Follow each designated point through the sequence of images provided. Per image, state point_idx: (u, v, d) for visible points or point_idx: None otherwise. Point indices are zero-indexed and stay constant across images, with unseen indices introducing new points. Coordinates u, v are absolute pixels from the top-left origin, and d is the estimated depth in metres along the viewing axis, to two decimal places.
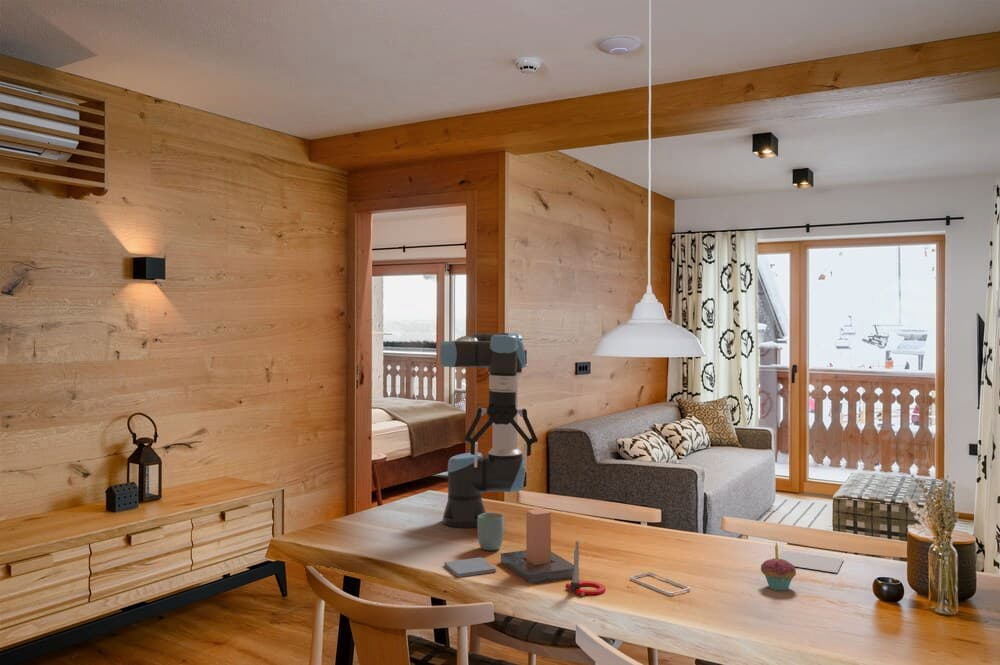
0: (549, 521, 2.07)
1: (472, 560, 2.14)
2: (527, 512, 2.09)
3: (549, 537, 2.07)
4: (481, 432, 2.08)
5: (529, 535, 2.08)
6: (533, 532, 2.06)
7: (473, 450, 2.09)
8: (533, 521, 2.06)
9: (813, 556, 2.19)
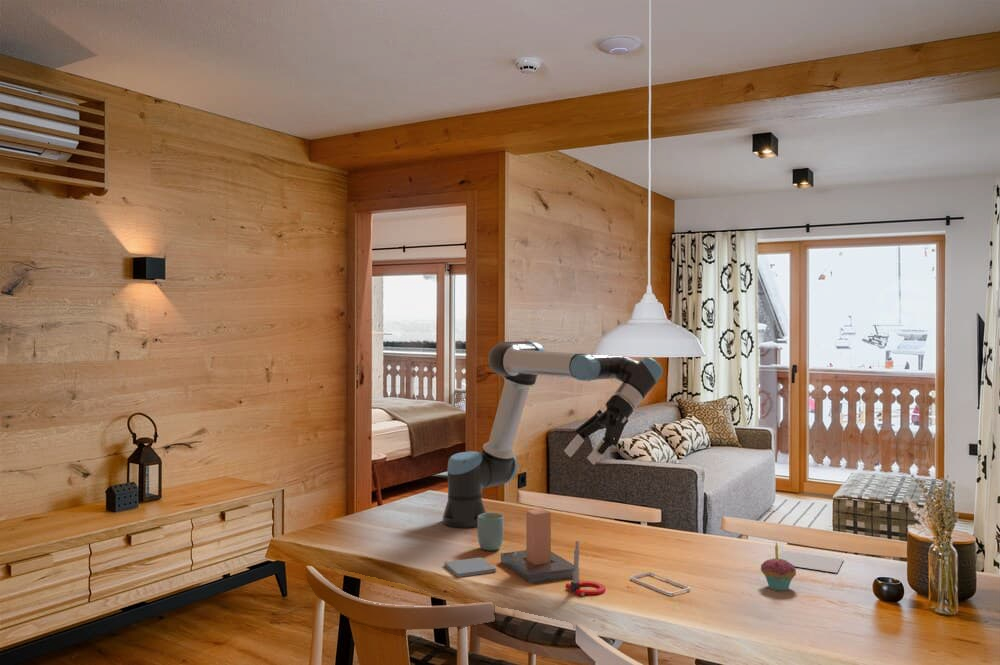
0: (549, 521, 2.07)
1: (472, 560, 2.14)
2: (527, 512, 2.09)
3: (549, 537, 2.07)
4: None
5: (529, 535, 2.08)
6: (533, 532, 2.06)
7: None
8: (533, 521, 2.06)
9: (813, 556, 2.19)
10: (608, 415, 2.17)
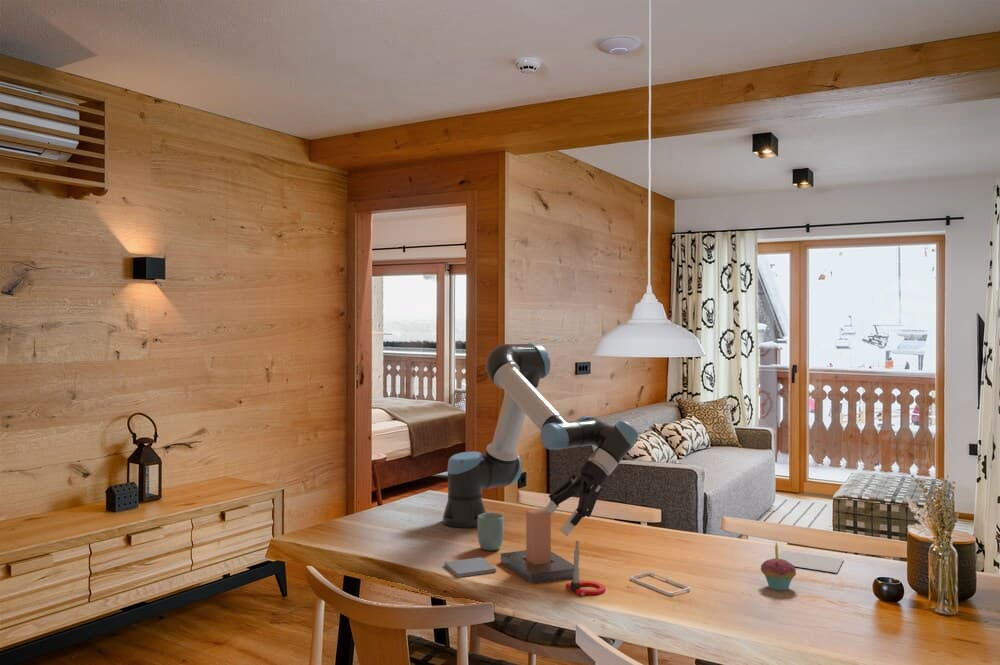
0: (549, 521, 2.07)
1: (472, 560, 2.14)
2: (527, 512, 2.09)
3: (549, 537, 2.07)
4: None
5: (529, 535, 2.08)
6: (533, 532, 2.06)
7: None
8: (533, 521, 2.06)
9: (813, 556, 2.19)
10: (582, 482, 2.11)
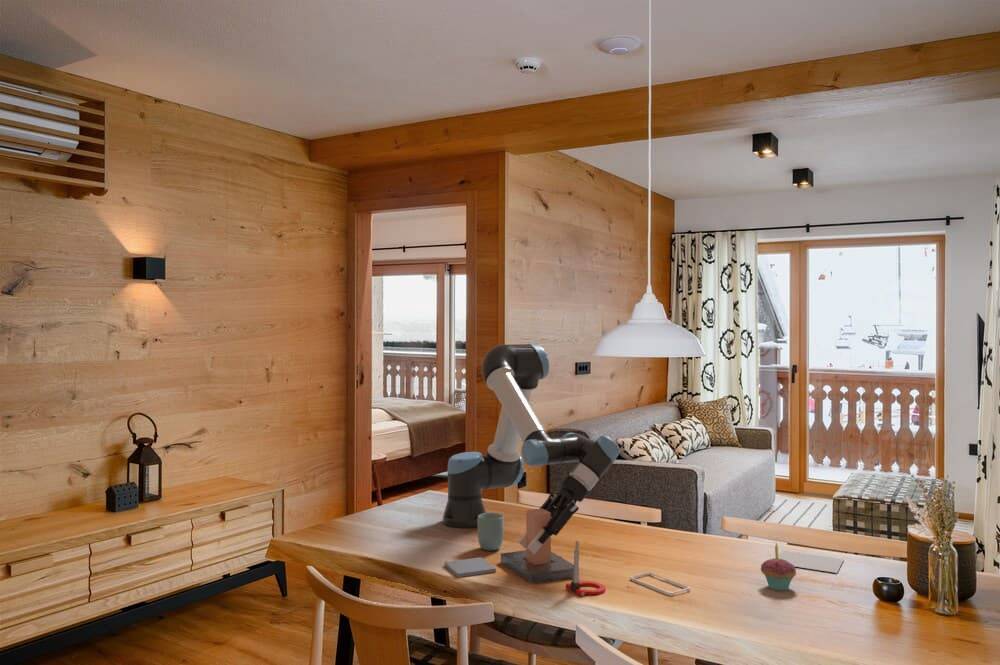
0: None
1: (472, 560, 2.14)
2: (527, 512, 2.09)
3: (549, 537, 2.07)
4: None
5: (529, 535, 2.08)
6: (533, 532, 2.06)
7: None
8: (533, 521, 2.06)
9: (813, 556, 2.19)
10: (562, 498, 2.10)
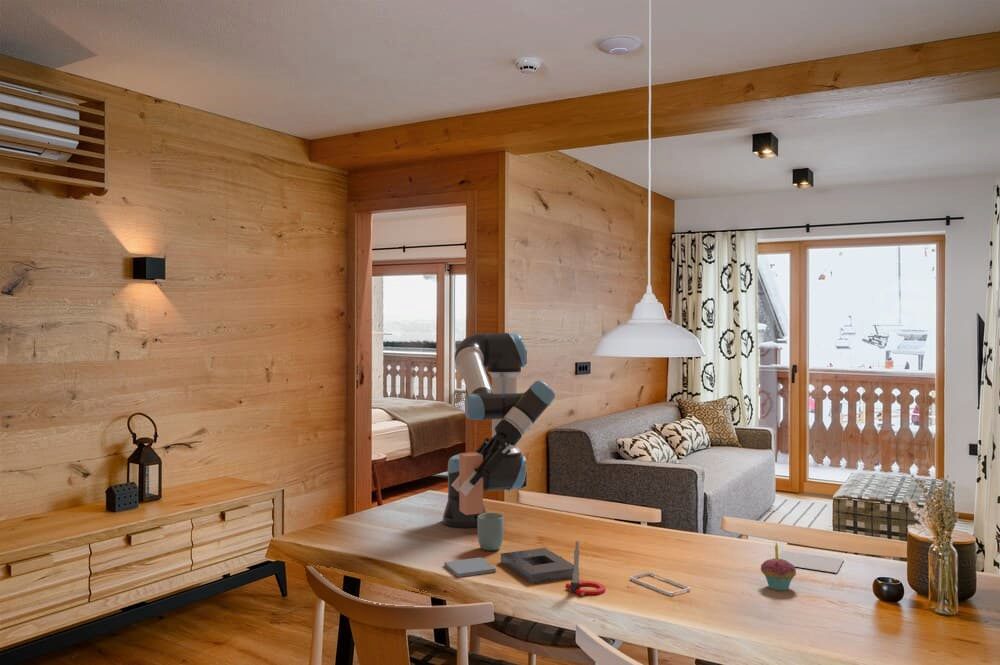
0: None
1: (472, 560, 2.14)
2: (460, 455, 2.10)
3: (481, 479, 2.08)
4: None
5: (461, 477, 2.08)
6: (465, 474, 2.06)
7: None
8: (465, 463, 2.06)
9: (813, 556, 2.19)
10: (494, 441, 2.10)
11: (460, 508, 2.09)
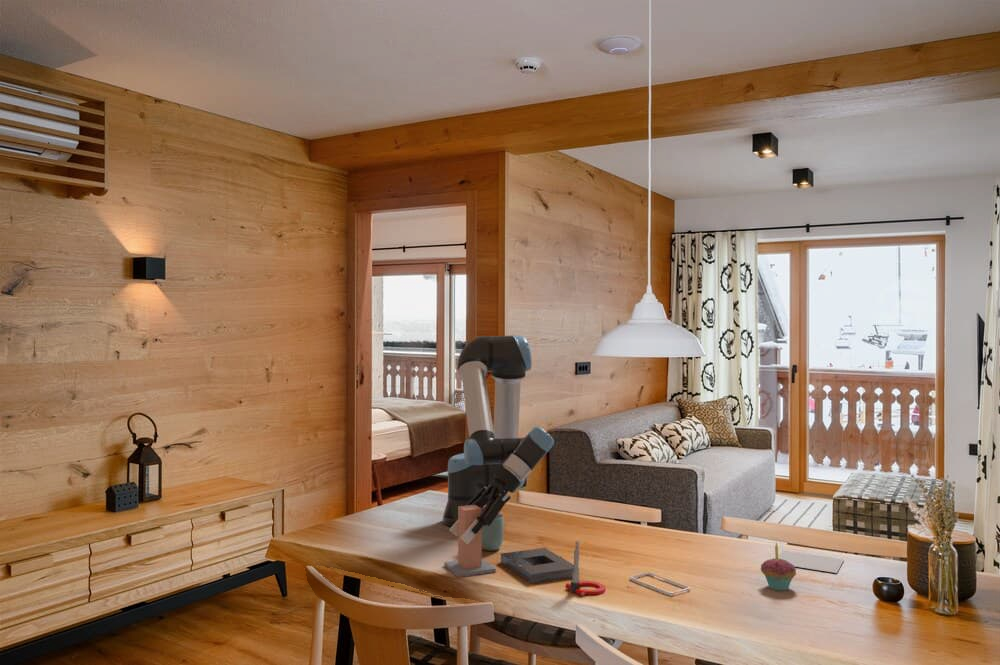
0: None
1: None
2: (459, 508, 2.10)
3: (480, 533, 2.08)
4: None
5: (460, 531, 2.09)
6: (463, 528, 2.06)
7: None
8: (464, 517, 2.06)
9: (813, 556, 2.19)
10: (493, 488, 2.10)
11: (459, 561, 2.10)
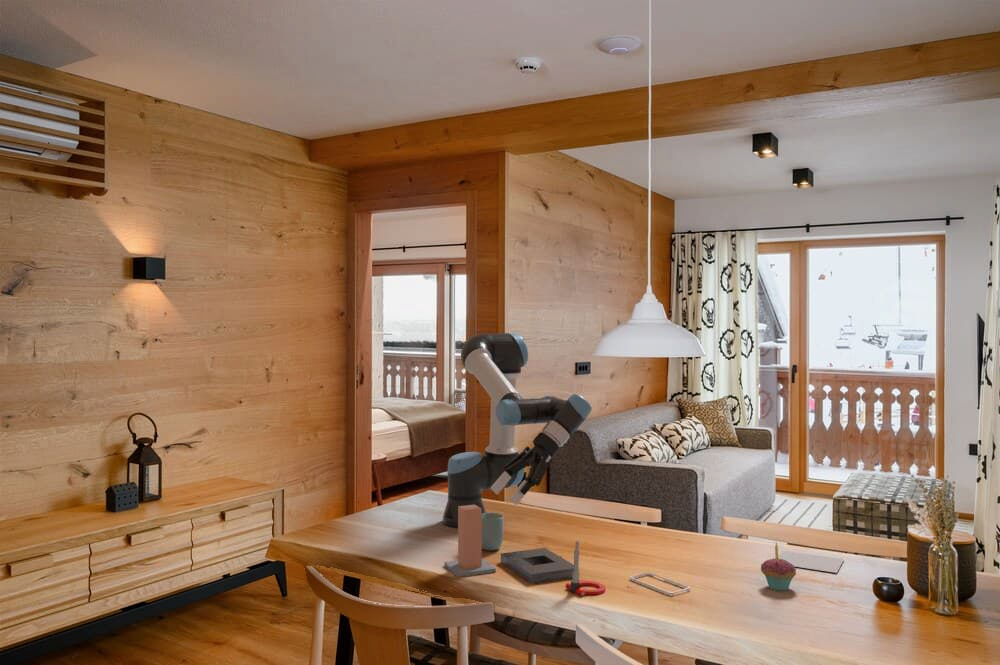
0: (480, 517, 2.08)
1: None
2: (458, 508, 2.10)
3: (480, 533, 2.08)
4: None
5: (460, 531, 2.09)
6: (463, 528, 2.06)
7: None
8: (464, 517, 2.06)
9: (813, 556, 2.19)
10: (534, 453, 2.15)
11: (459, 561, 2.10)
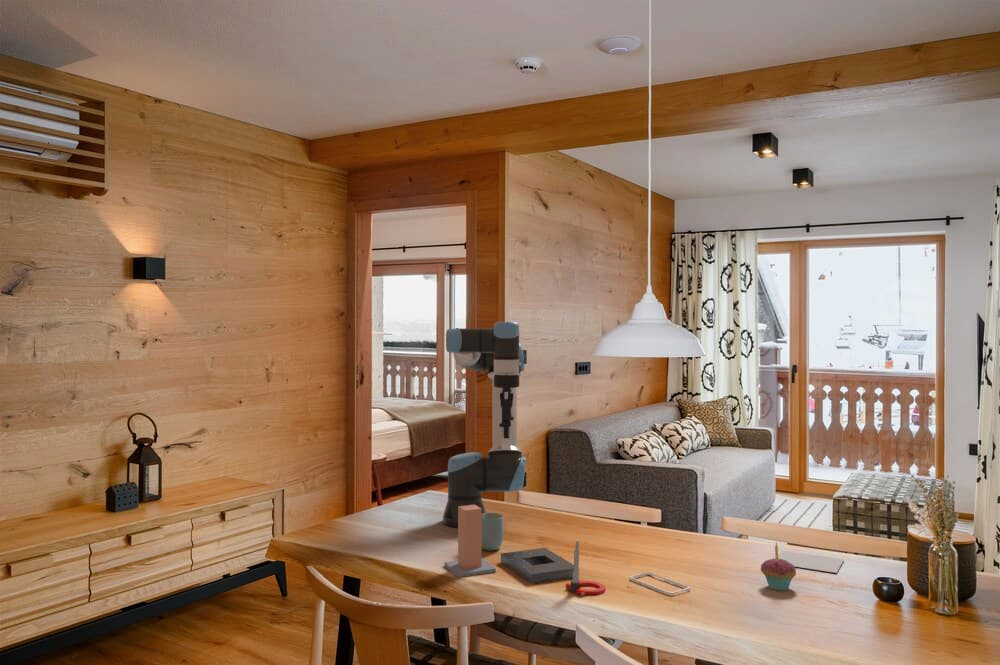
0: (480, 517, 2.08)
1: None
2: (458, 508, 2.10)
3: (480, 533, 2.08)
4: (510, 415, 2.18)
5: (460, 531, 2.09)
6: (463, 528, 2.06)
7: (508, 433, 2.16)
8: (464, 517, 2.06)
9: (813, 556, 2.19)
10: (499, 396, 2.22)
11: (459, 561, 2.10)
